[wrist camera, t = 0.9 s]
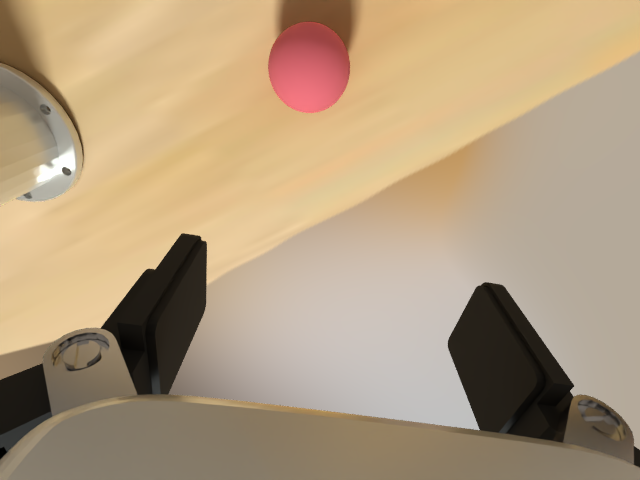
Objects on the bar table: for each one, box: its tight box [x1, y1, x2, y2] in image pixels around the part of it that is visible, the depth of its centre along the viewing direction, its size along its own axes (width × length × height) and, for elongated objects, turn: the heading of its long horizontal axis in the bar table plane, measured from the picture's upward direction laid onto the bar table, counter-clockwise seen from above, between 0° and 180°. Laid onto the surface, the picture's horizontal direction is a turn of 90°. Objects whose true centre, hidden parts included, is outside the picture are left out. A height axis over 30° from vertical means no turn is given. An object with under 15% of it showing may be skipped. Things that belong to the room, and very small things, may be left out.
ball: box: [268, 22, 350, 113], centre depth 25 cm, size 6×6×6 cm
